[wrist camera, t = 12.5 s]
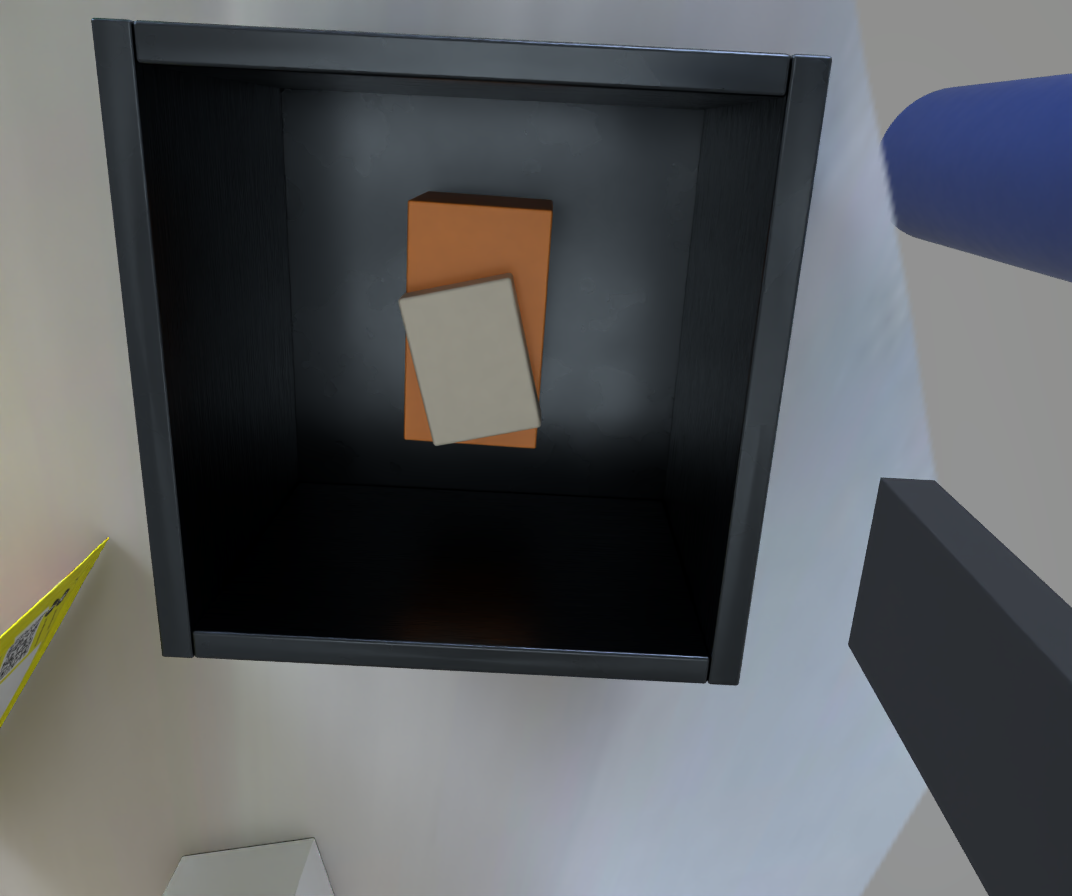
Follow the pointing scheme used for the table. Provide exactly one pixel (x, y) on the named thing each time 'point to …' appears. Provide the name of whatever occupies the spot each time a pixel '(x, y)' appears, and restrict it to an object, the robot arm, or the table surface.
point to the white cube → (253, 872)
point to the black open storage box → (379, 338)
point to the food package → (36, 633)
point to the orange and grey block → (475, 318)
